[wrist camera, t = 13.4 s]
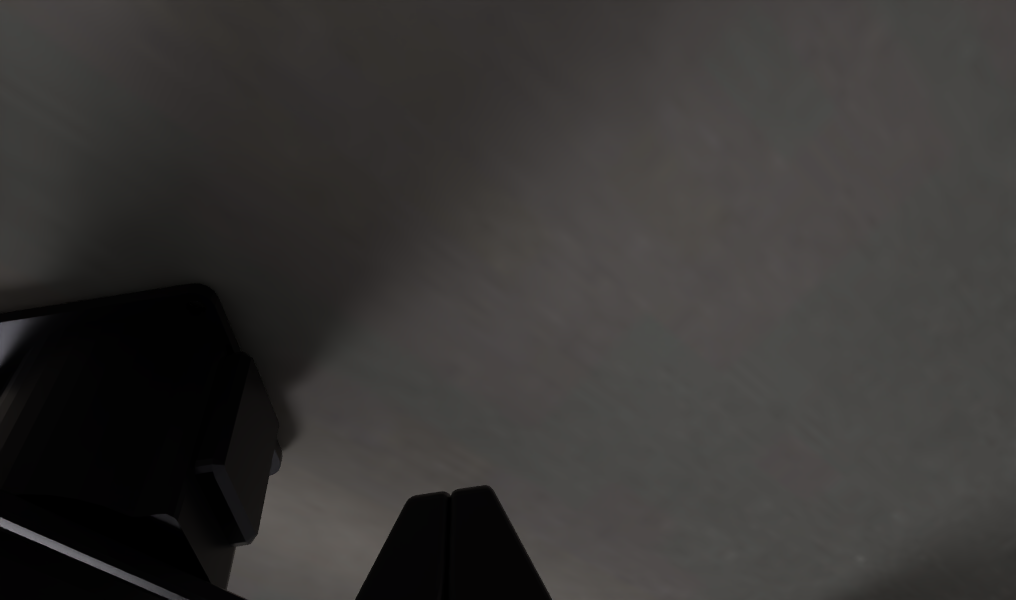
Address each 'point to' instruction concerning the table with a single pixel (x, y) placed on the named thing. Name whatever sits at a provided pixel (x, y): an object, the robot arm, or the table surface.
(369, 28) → the table surface
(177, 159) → the table surface
